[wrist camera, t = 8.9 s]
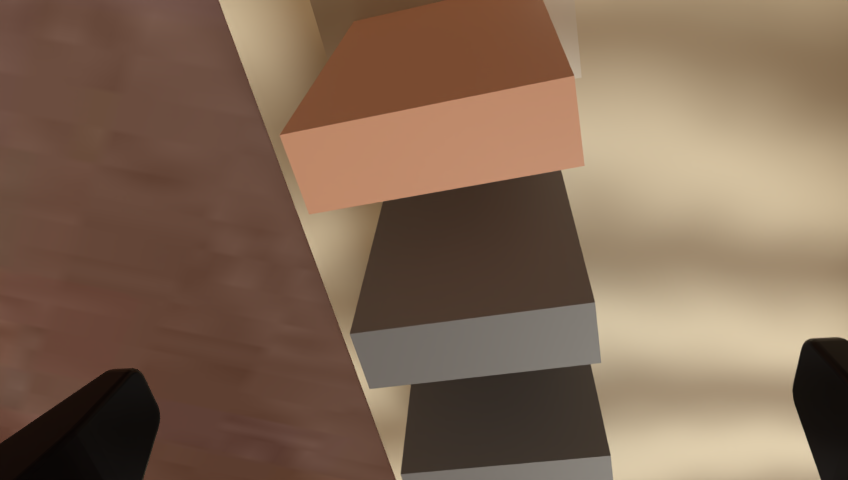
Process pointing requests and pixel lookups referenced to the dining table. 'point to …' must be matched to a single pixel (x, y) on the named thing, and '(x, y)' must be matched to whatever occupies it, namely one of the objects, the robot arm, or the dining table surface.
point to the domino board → (651, 212)
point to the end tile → (435, 105)
